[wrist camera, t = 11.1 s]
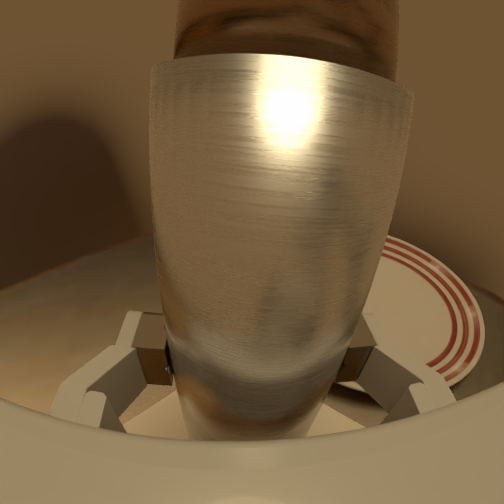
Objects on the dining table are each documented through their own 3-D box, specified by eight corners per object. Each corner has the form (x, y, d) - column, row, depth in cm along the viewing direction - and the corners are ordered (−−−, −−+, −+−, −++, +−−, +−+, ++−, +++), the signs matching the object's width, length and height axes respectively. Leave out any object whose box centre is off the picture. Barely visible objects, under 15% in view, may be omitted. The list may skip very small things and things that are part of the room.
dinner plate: (508, 370, 20) (524, 349, 19) (265, 441, 17) (271, 420, 15) (405, 247, 44) (411, 229, 42) (237, 245, 41) (238, 223, 39)
